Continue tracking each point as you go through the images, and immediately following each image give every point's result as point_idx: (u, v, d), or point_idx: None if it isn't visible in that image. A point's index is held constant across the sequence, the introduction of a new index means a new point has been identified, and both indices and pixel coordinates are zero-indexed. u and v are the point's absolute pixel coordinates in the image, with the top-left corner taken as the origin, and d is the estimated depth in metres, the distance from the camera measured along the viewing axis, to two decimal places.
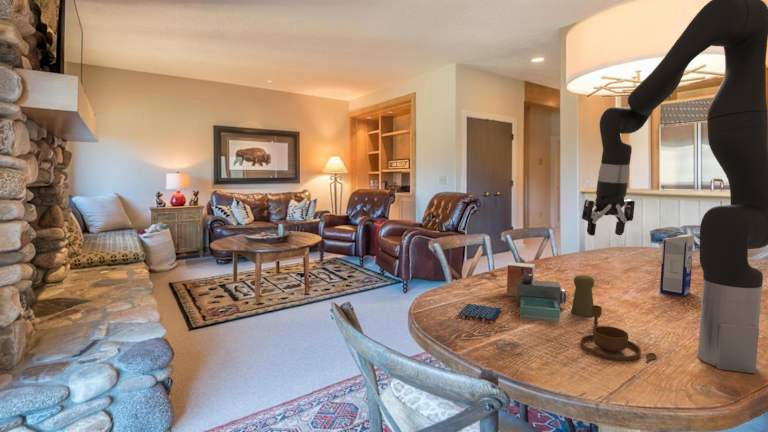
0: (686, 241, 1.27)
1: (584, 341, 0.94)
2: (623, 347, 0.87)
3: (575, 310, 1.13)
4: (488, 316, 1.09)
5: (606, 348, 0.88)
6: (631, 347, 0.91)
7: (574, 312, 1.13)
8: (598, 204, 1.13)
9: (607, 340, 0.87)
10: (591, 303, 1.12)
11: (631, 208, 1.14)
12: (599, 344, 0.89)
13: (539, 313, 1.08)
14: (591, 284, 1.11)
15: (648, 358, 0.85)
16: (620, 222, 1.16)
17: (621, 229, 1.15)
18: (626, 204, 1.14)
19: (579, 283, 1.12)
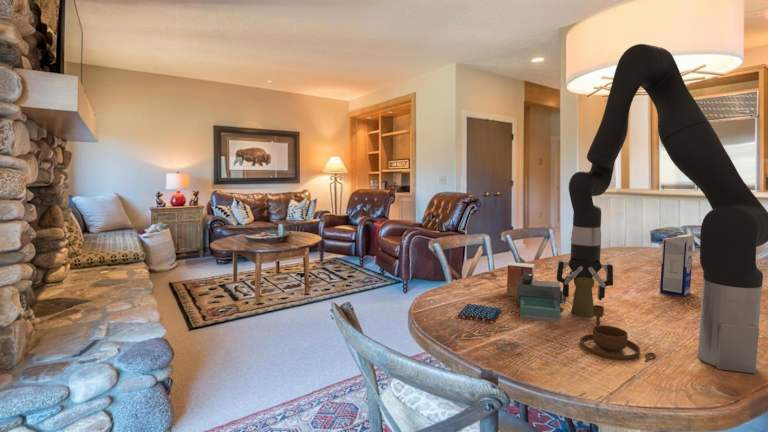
0: (686, 241, 1.27)
1: (584, 340, 0.95)
2: (622, 346, 0.87)
3: (575, 310, 1.13)
4: (488, 316, 1.09)
5: (605, 347, 0.88)
6: (631, 347, 0.91)
7: (574, 312, 1.13)
8: (569, 265, 1.13)
9: (606, 339, 0.88)
10: (591, 303, 1.12)
11: (609, 272, 1.10)
12: (598, 343, 0.89)
13: (539, 313, 1.08)
14: (591, 284, 1.11)
15: (647, 358, 0.86)
16: (599, 286, 1.12)
17: (600, 293, 1.11)
18: (604, 268, 1.11)
19: (579, 283, 1.12)
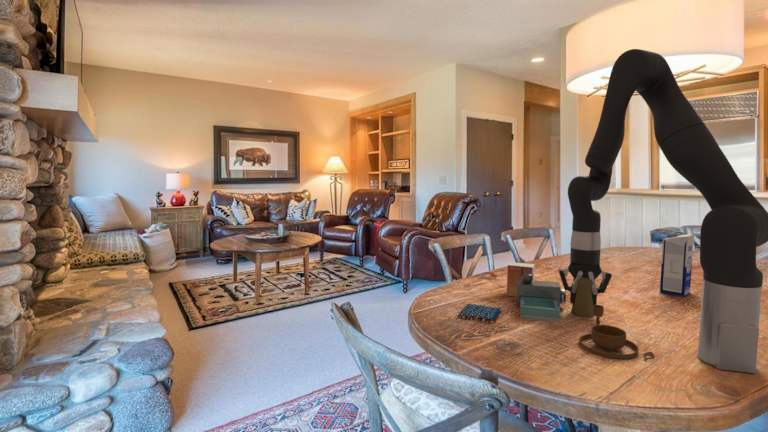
0: (686, 241, 1.27)
1: (583, 339, 0.95)
2: (620, 346, 0.88)
3: (575, 310, 1.13)
4: (488, 316, 1.09)
5: (603, 346, 0.89)
6: (630, 346, 0.91)
7: (574, 312, 1.13)
8: None
9: (604, 338, 0.88)
10: (591, 303, 1.11)
11: (606, 280, 1.10)
12: (597, 342, 0.90)
13: (539, 313, 1.08)
14: (591, 284, 1.11)
15: (645, 357, 0.86)
16: None
17: None
18: (603, 275, 1.11)
19: (579, 283, 1.12)
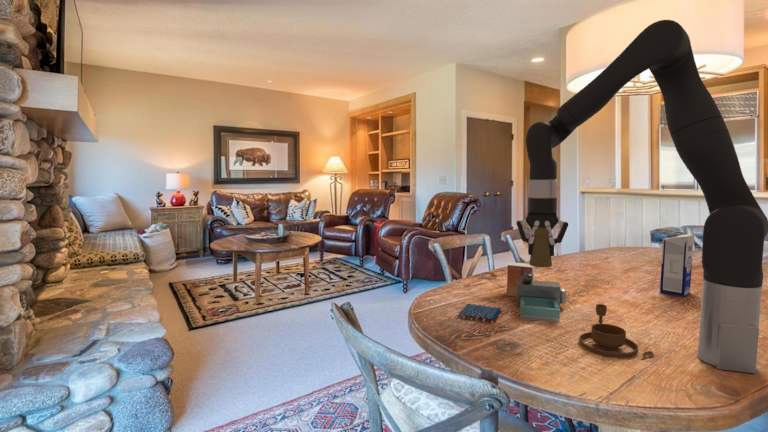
0: (686, 241, 1.27)
1: (583, 338, 0.96)
2: (619, 344, 0.88)
3: (532, 261, 1.11)
4: (488, 316, 1.09)
5: (602, 345, 0.90)
6: (630, 345, 0.92)
7: (531, 263, 1.11)
8: None
9: (603, 337, 0.89)
10: (548, 253, 1.09)
11: (562, 229, 1.08)
12: (596, 340, 0.91)
13: (539, 313, 1.08)
14: (548, 234, 1.09)
15: (644, 356, 0.87)
16: None
17: None
18: (560, 224, 1.09)
19: (536, 233, 1.09)
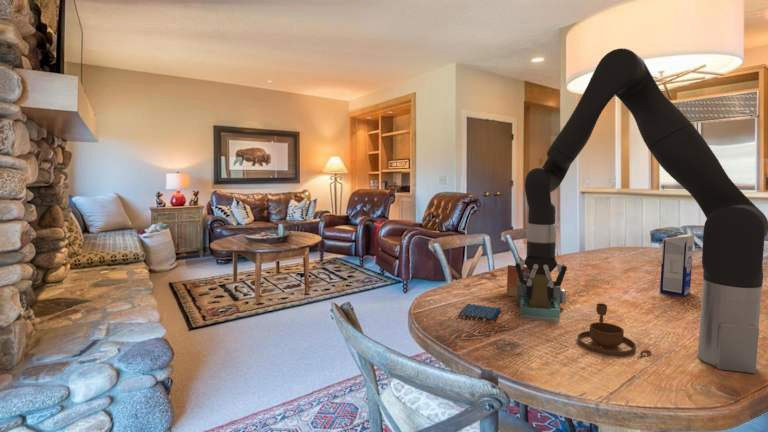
0: (686, 241, 1.27)
1: (582, 336, 0.97)
2: (617, 343, 0.89)
3: None
4: (489, 316, 1.09)
5: (600, 343, 0.91)
6: (629, 344, 0.93)
7: None
8: None
9: (601, 335, 0.90)
10: (547, 300, 1.10)
11: (561, 273, 1.09)
12: (594, 339, 0.92)
13: (539, 313, 1.08)
14: (546, 281, 1.10)
15: (642, 355, 0.87)
16: (548, 286, 1.11)
17: (549, 294, 1.11)
18: (558, 267, 1.10)
19: (534, 280, 1.11)
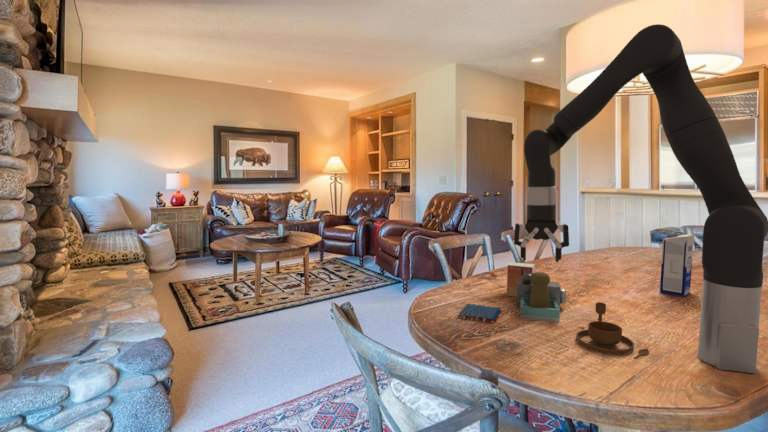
0: (686, 241, 1.27)
1: (581, 335, 0.98)
2: (615, 341, 0.90)
3: None
4: (489, 316, 1.09)
5: (598, 341, 0.91)
6: (627, 343, 0.93)
7: None
8: (526, 227, 1.11)
9: (599, 334, 0.91)
10: (547, 300, 1.10)
11: (565, 233, 1.08)
12: (592, 337, 0.92)
13: (539, 313, 1.08)
14: (546, 281, 1.10)
15: (640, 353, 0.88)
16: (556, 248, 1.10)
17: (556, 255, 1.09)
18: (560, 228, 1.09)
19: (534, 280, 1.11)
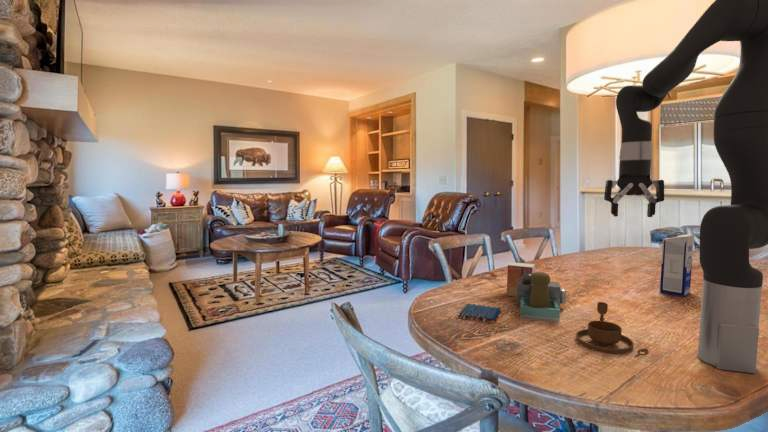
0: (686, 241, 1.27)
1: (581, 334, 0.98)
2: (614, 341, 0.90)
3: None
4: (489, 316, 1.09)
5: (597, 341, 0.92)
6: (627, 342, 0.93)
7: None
8: (618, 183, 1.12)
9: (598, 333, 0.91)
10: (547, 300, 1.10)
11: (660, 187, 1.09)
12: (591, 337, 0.93)
13: (539, 313, 1.08)
14: (546, 281, 1.10)
15: (639, 353, 0.88)
16: (649, 203, 1.10)
17: (650, 210, 1.10)
18: (655, 184, 1.10)
19: (535, 280, 1.11)
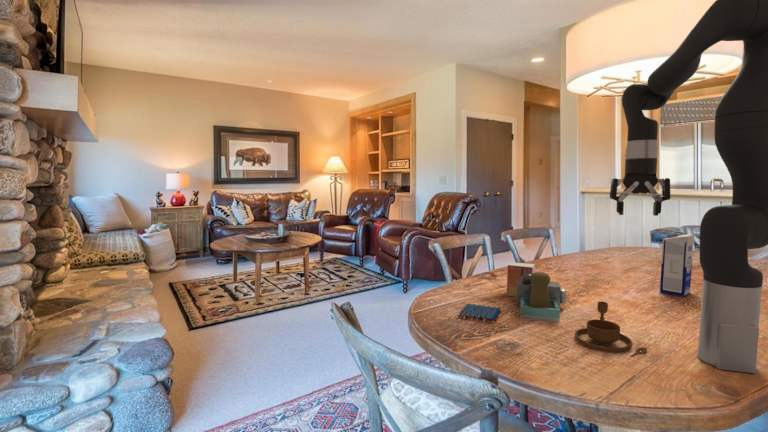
0: (686, 241, 1.27)
1: (580, 333, 0.99)
2: (613, 339, 0.91)
3: None
4: (489, 316, 1.09)
5: (596, 339, 0.92)
6: (626, 341, 0.94)
7: None
8: (624, 182, 1.12)
9: (596, 332, 0.92)
10: (547, 300, 1.10)
11: (666, 186, 1.08)
12: (590, 335, 0.94)
13: (539, 313, 1.08)
14: (546, 281, 1.10)
15: (637, 352, 0.89)
16: (655, 201, 1.10)
17: (656, 209, 1.10)
18: (661, 182, 1.09)
19: (535, 280, 1.11)
